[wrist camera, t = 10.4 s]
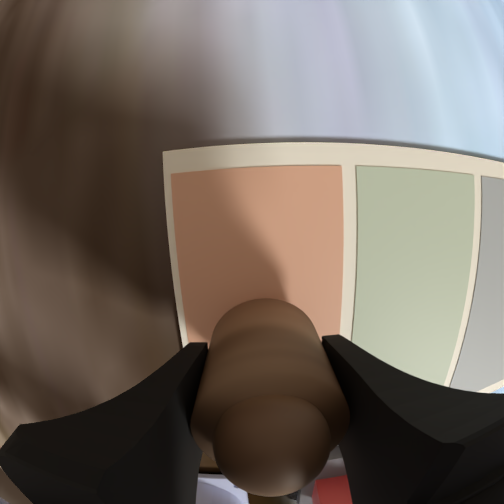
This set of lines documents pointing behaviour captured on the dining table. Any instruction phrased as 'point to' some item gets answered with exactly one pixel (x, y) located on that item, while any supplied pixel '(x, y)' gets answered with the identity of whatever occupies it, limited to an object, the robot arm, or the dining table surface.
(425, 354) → the game board
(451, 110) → the dining table surface
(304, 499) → the grey open box
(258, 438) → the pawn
